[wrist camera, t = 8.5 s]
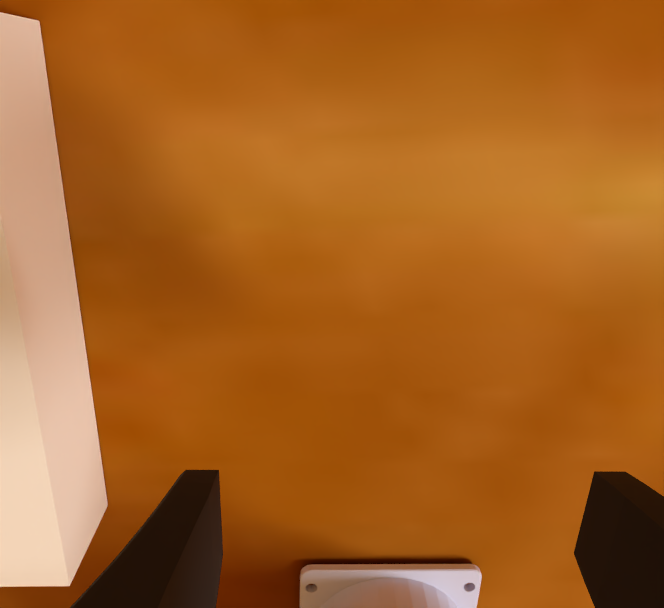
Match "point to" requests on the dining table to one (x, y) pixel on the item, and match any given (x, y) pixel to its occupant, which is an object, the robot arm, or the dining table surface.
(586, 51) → the dining table surface
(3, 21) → the white rectangular box
